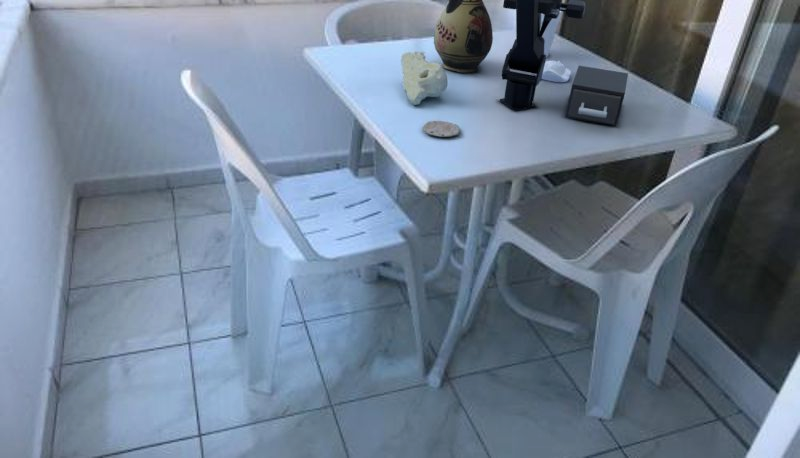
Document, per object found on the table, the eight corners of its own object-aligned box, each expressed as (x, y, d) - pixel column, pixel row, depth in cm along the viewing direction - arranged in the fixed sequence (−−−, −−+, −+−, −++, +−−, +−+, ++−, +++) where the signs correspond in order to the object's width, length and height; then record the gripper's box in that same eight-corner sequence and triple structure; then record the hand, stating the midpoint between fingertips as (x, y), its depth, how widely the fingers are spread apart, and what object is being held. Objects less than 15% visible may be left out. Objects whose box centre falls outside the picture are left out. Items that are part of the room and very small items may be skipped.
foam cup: (555, 60, 182) (564, 14, 175) (523, 58, 182) (531, 12, 175) (549, 49, 190) (558, 4, 183) (518, 47, 190) (525, 2, 182)
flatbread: (418, 134, 137) (418, 129, 137) (429, 120, 143) (429, 116, 143) (454, 141, 135) (455, 137, 135) (464, 128, 141) (464, 123, 141)
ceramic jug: (473, 55, 182) (486, -59, 165) (498, 74, 170) (515, -46, 153) (417, 59, 177) (425, -58, 160) (439, 79, 165) (450, -45, 148)
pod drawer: (612, 133, 141) (619, 106, 138) (565, 124, 144) (570, 97, 140) (617, 104, 155) (624, 79, 151) (574, 97, 158) (579, 72, 154)
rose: (546, 68, 163) (528, 55, 171) (543, 84, 166) (525, 71, 173) (580, 65, 166) (560, 53, 174) (576, 82, 169) (557, 69, 176)
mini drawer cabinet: (616, 126, 146) (625, 93, 142) (565, 117, 149) (572, 84, 145) (619, 105, 157) (628, 73, 153) (572, 96, 160) (578, 65, 155)
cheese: (444, 118, 150) (466, 64, 154) (427, 100, 145) (450, 45, 149) (396, 117, 160) (418, 67, 164) (379, 101, 155) (401, 49, 159)
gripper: (503, -25, 144) (493, 44, 153) (587, -14, 140) (572, 56, 149) (512, -34, 153) (503, 31, 162) (591, -24, 149) (578, 42, 157)
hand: (538, 40), depth 157 cm, fingers closed
